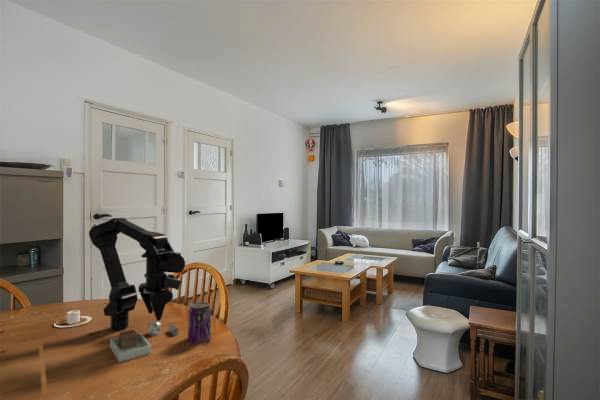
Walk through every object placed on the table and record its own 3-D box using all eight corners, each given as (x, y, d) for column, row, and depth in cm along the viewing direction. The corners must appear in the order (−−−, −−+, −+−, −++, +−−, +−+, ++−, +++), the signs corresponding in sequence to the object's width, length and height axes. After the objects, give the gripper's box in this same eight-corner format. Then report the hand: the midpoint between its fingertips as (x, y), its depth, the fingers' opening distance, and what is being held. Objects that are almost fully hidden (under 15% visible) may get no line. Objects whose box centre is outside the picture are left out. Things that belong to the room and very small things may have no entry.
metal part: (146, 336, 110) (146, 322, 110) (158, 333, 113) (159, 320, 113) (150, 339, 107) (150, 326, 107) (162, 336, 110) (162, 323, 110)
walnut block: (118, 345, 100) (119, 332, 100) (133, 342, 102) (133, 329, 103) (121, 349, 97) (122, 336, 97) (136, 346, 99) (136, 333, 99)
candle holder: (77, 329, 117) (77, 317, 117) (44, 329, 117) (45, 317, 117) (98, 318, 129) (98, 307, 129) (69, 317, 129) (69, 307, 129)
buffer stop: (168, 334, 111) (168, 325, 111) (172, 333, 112) (172, 324, 112) (173, 339, 108) (173, 329, 108) (177, 337, 109) (177, 328, 109)
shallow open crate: (109, 349, 100) (109, 338, 100) (139, 341, 105) (139, 331, 105) (119, 366, 89) (119, 354, 89) (152, 357, 94) (152, 346, 94)
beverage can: (204, 347, 101) (204, 308, 102) (183, 345, 103) (184, 307, 103) (214, 338, 108) (214, 302, 109) (195, 336, 110) (195, 301, 110)
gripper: (188, 272, 109) (188, 318, 108) (170, 264, 123) (169, 305, 122) (153, 276, 101) (153, 326, 101) (138, 267, 116) (137, 311, 115)
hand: (154, 316), depth 110 cm, fingers open, 9 cm apart
